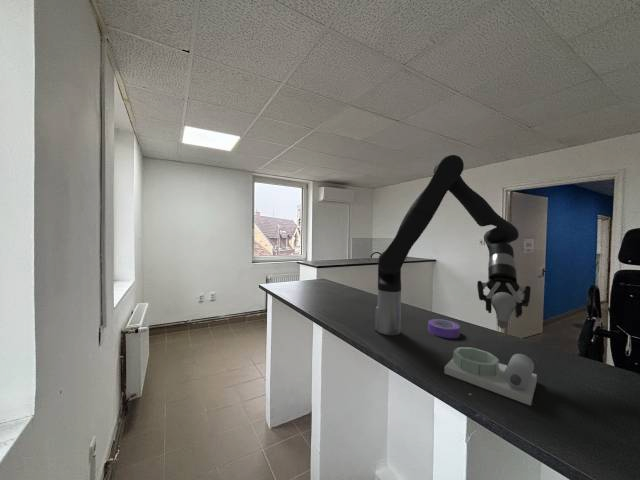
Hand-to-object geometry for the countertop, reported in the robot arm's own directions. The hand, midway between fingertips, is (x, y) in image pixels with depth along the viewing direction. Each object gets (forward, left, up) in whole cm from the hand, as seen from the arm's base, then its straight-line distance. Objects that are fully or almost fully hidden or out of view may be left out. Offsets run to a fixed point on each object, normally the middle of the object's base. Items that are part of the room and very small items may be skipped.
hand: (503, 313), depth 75 cm
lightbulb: (0, +2, -5) cm, 5 cm away
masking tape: (-23, +18, -17) cm, 33 cm away
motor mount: (-2, -8, -17) cm, 18 cm away
